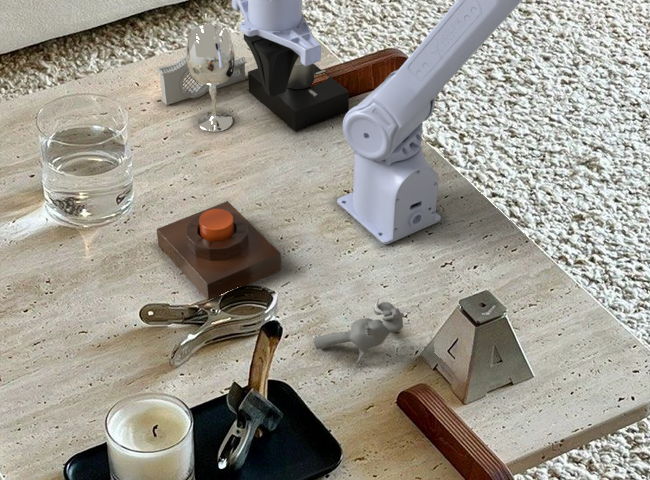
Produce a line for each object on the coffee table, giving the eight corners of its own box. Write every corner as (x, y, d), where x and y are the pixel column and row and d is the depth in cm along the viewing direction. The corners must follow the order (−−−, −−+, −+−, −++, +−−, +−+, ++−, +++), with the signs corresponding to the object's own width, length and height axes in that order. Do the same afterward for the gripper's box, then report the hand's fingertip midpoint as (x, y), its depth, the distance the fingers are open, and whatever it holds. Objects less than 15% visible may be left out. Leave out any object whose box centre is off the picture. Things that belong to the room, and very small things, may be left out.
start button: (240, 234, 126) (239, 221, 125) (211, 247, 124) (210, 233, 123) (223, 217, 128) (222, 204, 127) (194, 229, 126) (192, 216, 125)
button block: (281, 270, 127) (280, 241, 124) (208, 301, 124) (206, 272, 121) (228, 217, 134) (226, 188, 131) (158, 246, 130) (154, 217, 127)
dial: (308, 91, 147) (308, 64, 144) (277, 86, 147) (277, 59, 145) (317, 75, 149) (317, 48, 147) (287, 70, 150) (286, 43, 147)
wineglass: (244, 129, 146) (240, 41, 138) (200, 138, 145) (193, 50, 136) (229, 105, 150) (224, 18, 142) (186, 114, 149) (178, 27, 140)
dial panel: (349, 112, 149) (350, 90, 147) (294, 132, 146) (294, 110, 143) (301, 73, 155) (301, 51, 153) (247, 92, 152) (246, 70, 150)
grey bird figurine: (324, 313, 123) (408, 294, 120) (336, 369, 123) (420, 352, 120) (294, 315, 113) (384, 295, 110) (307, 377, 113) (398, 358, 110)
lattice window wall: (241, 74, 155) (239, 34, 151) (248, 81, 154) (246, 40, 150) (159, 101, 151) (155, 60, 147) (165, 108, 150) (161, 66, 145)
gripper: (205, -40, 126) (211, 72, 136) (281, 19, 118) (281, 134, 127) (261, -57, 129) (263, 54, 138) (339, 0, 120) (334, 114, 130)
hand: (275, 91), depth 133 cm, fingers closed
